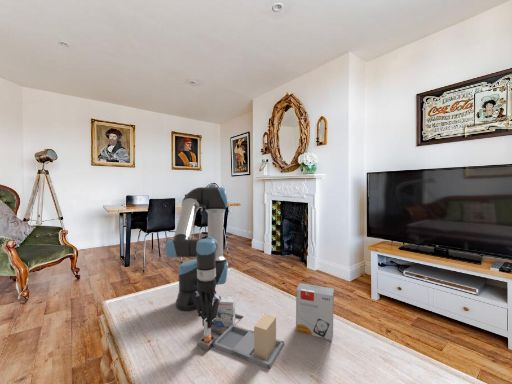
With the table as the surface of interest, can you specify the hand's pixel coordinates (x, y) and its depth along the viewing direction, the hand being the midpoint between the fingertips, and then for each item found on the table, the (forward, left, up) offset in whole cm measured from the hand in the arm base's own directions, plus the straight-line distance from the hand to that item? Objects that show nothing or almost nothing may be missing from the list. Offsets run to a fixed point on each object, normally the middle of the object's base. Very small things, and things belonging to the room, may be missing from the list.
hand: (207, 334), depth 98 cm
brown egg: (0, 0, -4) cm, 4 cm away
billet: (+24, +6, -3) cm, 24 cm away
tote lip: (-2, +16, -4) cm, 16 cm away
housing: (0, 0, -4) cm, 4 cm away
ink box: (-2, +16, -5) cm, 16 cm away
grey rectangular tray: (+16, +6, -4) cm, 18 cm away
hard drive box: (+37, +28, -5) cm, 47 cm away
